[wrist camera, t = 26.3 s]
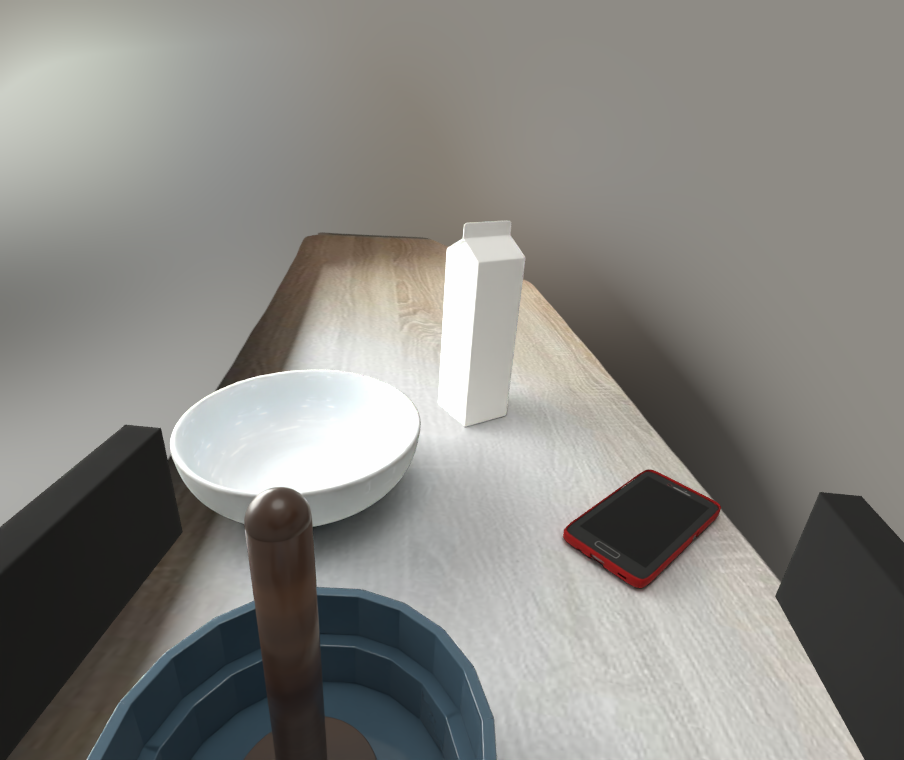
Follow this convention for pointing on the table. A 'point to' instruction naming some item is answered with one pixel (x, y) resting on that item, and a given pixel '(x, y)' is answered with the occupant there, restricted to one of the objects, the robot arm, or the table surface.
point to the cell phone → (642, 526)
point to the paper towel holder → (292, 634)
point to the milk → (480, 322)
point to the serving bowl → (297, 442)
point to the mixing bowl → (344, 688)
